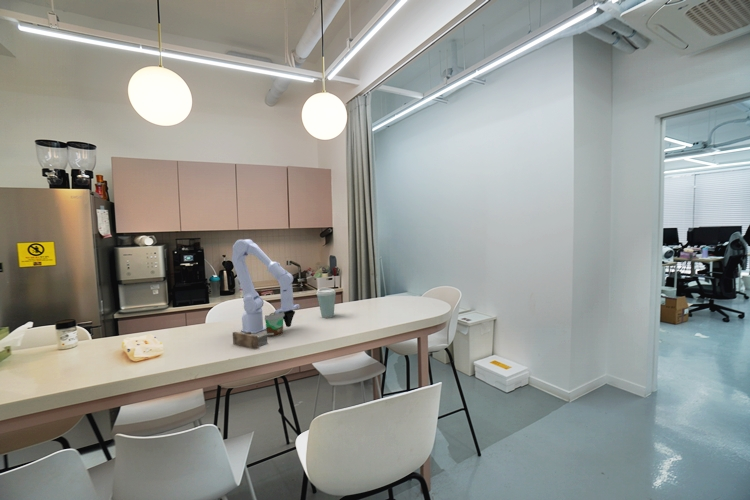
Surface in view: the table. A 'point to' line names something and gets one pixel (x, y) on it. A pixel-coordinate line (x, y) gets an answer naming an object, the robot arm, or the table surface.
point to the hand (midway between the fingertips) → (288, 326)
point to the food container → (274, 324)
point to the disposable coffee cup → (326, 301)
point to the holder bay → (249, 340)
